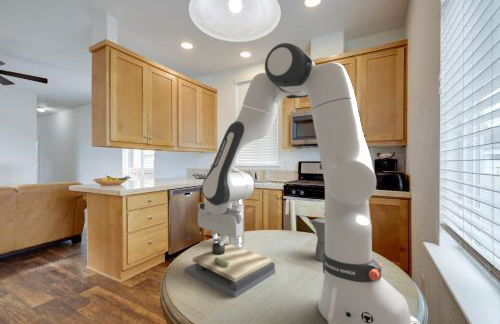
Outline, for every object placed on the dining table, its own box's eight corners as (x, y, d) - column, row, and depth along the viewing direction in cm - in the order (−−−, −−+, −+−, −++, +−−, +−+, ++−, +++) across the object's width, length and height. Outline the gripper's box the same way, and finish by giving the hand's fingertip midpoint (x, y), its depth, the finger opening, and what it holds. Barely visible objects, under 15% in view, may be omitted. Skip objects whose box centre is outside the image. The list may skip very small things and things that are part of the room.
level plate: (271, 262, 81) (271, 250, 81) (234, 282, 67) (235, 267, 67) (230, 247, 94) (230, 236, 94) (192, 261, 80) (193, 248, 80)
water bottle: (241, 250, 102) (242, 192, 103) (226, 248, 104) (227, 192, 104) (245, 244, 109) (245, 191, 109) (231, 243, 110) (231, 190, 111)
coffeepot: (311, 262, 90) (311, 215, 90) (307, 253, 99) (307, 210, 99) (353, 263, 89) (353, 216, 89) (344, 254, 98) (344, 211, 98)
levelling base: (275, 272, 81) (275, 262, 81) (235, 297, 65) (235, 285, 66) (226, 255, 96) (226, 246, 96) (184, 272, 81) (184, 261, 81)
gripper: (247, 209, 80) (245, 249, 80) (208, 201, 94) (207, 236, 94) (234, 212, 76) (232, 255, 76) (195, 203, 89) (194, 239, 89)
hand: (218, 244), depth 85 cm, fingers closed on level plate
